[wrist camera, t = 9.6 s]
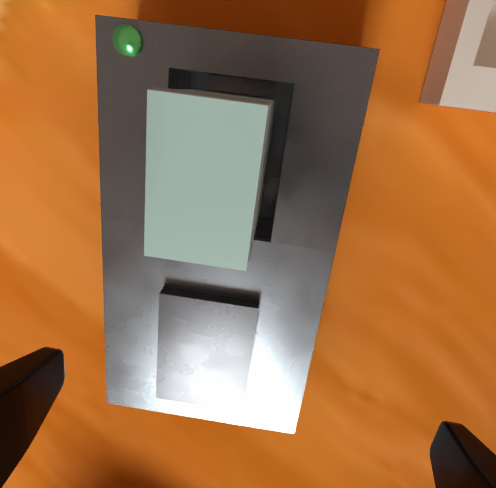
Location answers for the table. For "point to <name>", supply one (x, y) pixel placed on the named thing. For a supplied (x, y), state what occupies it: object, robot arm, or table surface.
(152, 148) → the plug
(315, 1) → the table surface
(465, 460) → the robot arm
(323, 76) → the panel
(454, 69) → the light grey tray
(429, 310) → the table surface
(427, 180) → the table surface
